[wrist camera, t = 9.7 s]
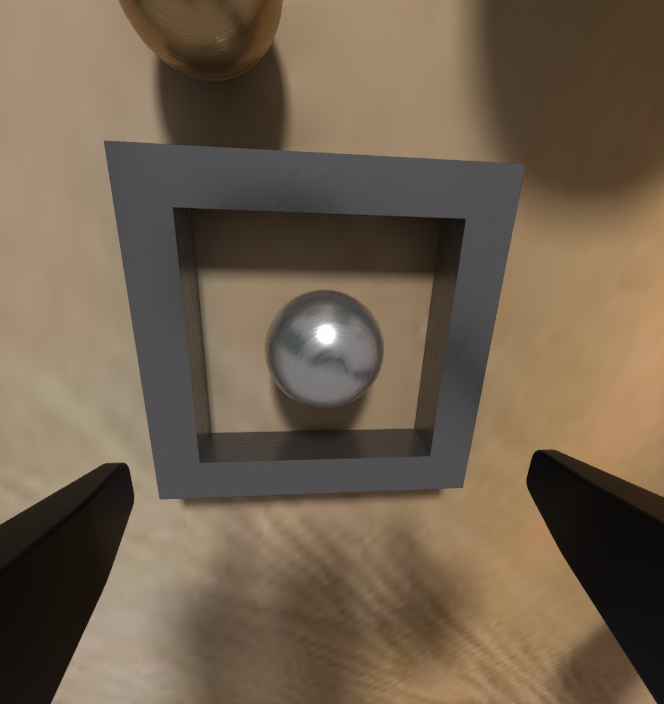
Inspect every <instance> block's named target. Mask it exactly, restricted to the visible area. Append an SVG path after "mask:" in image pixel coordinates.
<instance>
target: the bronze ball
mask: <svg viewBox="0 0 664 704" xmlns="http://www.w3.org/2000/svg"><path fill="white" fill-rule="evenodd" d="M282 2H283V0H119V3H120V5H121V7H122V9H123V11H124V13H125V15H126V17H127V18H128V20H129V21H130V23H131V25H132V26H133V28H134V29H135V31H136V32H137V34H138V35H139V36H140V37H141V39H142V40H143V41H144V42H145V44H146V45H147V46H148V47H149V48H150V49H151V50H152V51H153V52H154V53H155V54H156V55H157V56H158V57H159V58H161V59H162V60H163V61H164V62H166V63H167V64H168V65H170V66H171V67H173V68H175V69H176V70H178V71H180V72H182V73H184V74H186V75H188V76H191V77H194V78H197V79H201V80H207V81H224V80H230V79H233V78H236V77H238V76H240V75H242V74H244V73H246V72H248V71H249V70H250V69H252V68H253V67H254V66H255V65H256V64H257V63H258V62H259V61H260V60H261V59H262V58H263V56H264V55H265V54H266V52H267V51H268V49H269V47H270V45H271V44H272V41H273V39H274V36H275V34H276V31H277V29H278V25H279V21H280V17H281V11H282Z"/></svg>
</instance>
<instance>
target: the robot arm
mask: <svg viewBox="0 0 664 704" xmlns="http://www.w3.org/2000/svg"><path fill="white" fill-rule="evenodd" d="M526 483H527V488H528V490H529V492H530V494H531V496H532V498H533V500H534V502H535V504H536V506H537V508H538V510H539V512H540V514H541V515H542V517H543V519H544V521H545V523H546V525H547V527H548V529H549V531H550V533H551V535H552V537H553V539H554V540H555V542H556V544H557V546H558V548H559V550H560V551H561V553H562V555H563V556H564V558H565V560H566V561H567V563H568V565H569V566H570V568H571V569H572V571H573V572H574V574H575V576H576V577H577V579H578V580H579V582H580V583H581V585H582V587H583V588H584V590H585V591H586V593H587V594H588V596H589V598H590V599H591V601H592V602H593V604H594V605H595V607H596V609H597V610H598V612H599V613H600V615H601V616H602V618H603V619H604V621H605V623H606V624H607V626H608V627H609V629H610V630H611V632H612V634H613V635H614V637H615V638H616V640H617V641H618V643H619V645H620V646H621V648H622V649H623V651H624V652H625V654H626V656H627V657H628V659H629V660H630V662H631V663H632V665H633V667H634V668H635V670H636V671H637V673H638V674H639V676H640V678H641V679H642V681H643V682H644V684H645V685H646V687H647V688H648V690H649V692H650V693H651V695H652V696H653V698H654V699H655V701H656V703H657V704H664V497H662V496H659V495H657V494H655V493H653V492H650V491H648V490H646V489H643V488H641V487H639V486H637V485H634V484H632V483H630V482H627V481H625V480H623V479H621V478H618V477H616V476H614V475H611V474H609V473H607V472H605V471H602V470H600V469H598V468H595V467H593V466H591V465H589V464H586V463H584V462H582V461H579V460H577V459H575V458H573V457H570V456H568V455H566V454H563V453H561V452H559V451H556V450H552V449H551V450H537V451H535V452H534V454H533V456H532V460H531V463H530V467H529V471H528V475H527V479H526ZM133 503H134V491H133V486H132V481H131V475H130V470H129V467H128V465H127V464H125V463H106V464H103V465H101V466H99V467H98V468H96V469H94V470H93V471H91V472H89V473H87V474H86V475H84V476H82V477H81V478H79V479H77V480H76V481H74V482H72V483H70V484H69V485H67V486H65V487H64V488H62V489H60V490H58V491H57V492H55V493H53V494H52V495H50V496H48V497H47V498H45V499H43V500H41V501H40V502H38V503H36V504H35V505H33V506H31V507H30V508H28V509H26V510H24V511H23V512H21V513H19V514H18V515H16V516H14V517H13V518H11V519H9V520H7V521H6V522H4V523H2V524H1V525H0V704H51V702H52V700H53V698H54V696H55V693H56V691H57V689H58V687H59V685H60V683H61V680H62V678H63V676H64V674H65V672H66V669H67V667H68V665H69V663H70V661H71V659H72V656H73V654H74V652H75V650H76V648H77V646H78V643H79V641H80V639H81V637H82V635H83V633H84V630H85V628H86V626H87V624H88V622H89V620H90V617H91V615H92V613H93V611H94V609H95V607H96V604H97V602H98V600H99V598H100V596H101V593H102V591H103V589H104V587H105V584H106V582H107V579H108V577H109V574H110V571H111V569H112V566H113V563H114V560H115V557H116V554H117V551H118V548H119V545H120V542H121V540H122V537H123V534H124V531H125V528H126V525H127V522H128V519H129V516H130V513H131V510H132V507H133Z"/></svg>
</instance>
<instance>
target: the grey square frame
mask: <svg viewBox="0 0 664 704" xmlns="http://www.w3.org/2000/svg"><path fill="white" fill-rule="evenodd" d="M104 145H105V151H106V158H107V164H108V171H109V177H110V183H111V190H112V196H113V203H114V209H115V215H116V222H117V228H118V235H119V241H120V248H121V254H122V260H123V267H124V273H125V280H126V286H127V292H128V299H129V305H130V312H131V318H132V325H133V331H134V337H135V344H136V350H137V357H138V363H139V369H140V376H141V382H142V389H143V395H144V402H145V408H146V414H147V421H148V427H149V434H150V440H151V446H152V453H153V459H154V466H155V472H156V479H157V485H158V491H159V498H160V499H184V498H210V497H236V496H262V495H288V494H315V493H341V492H367V491H393V490H419V489H445V488H463V484H464V479H465V473H466V468H467V463H468V458H469V453H470V448H471V443H472V437H473V432H474V427H475V422H476V417H477V412H478V406H479V401H480V396H481V391H482V386H483V381H484V376H485V370H486V365H487V360H488V355H489V350H490V345H491V339H492V334H493V329H494V324H495V319H496V314H497V309H498V303H499V298H500V293H501V288H502V283H503V278H504V272H505V267H506V262H507V257H508V252H509V247H510V242H511V236H512V231H513V226H514V221H515V216H516V211H517V205H518V200H519V195H520V190H521V185H522V180H523V175H524V169H525V164H514V163H496V162H478V161H460V160H442V159H424V158H406V157H388V156H370V155H352V154H334V153H316V152H298V151H280V150H262V149H244V148H227V147H209V146H191V145H173V144H155V143H137V142H119V141H104ZM191 208H192V209H217V210H243V211H269V212H295V213H320V214H346V215H372V216H397V217H423V218H442V223H441V230H440V238H439V246H438V253H437V261H436V269H435V276H434V284H433V292H432V299H431V307H430V315H429V322H428V330H427V338H426V346H425V353H424V361H423V369H422V376H421V384H420V392H419V399H418V407H417V415H416V422H415V429H384V430H337V431H289V432H242V433H211V428H210V417H209V406H208V394H207V383H206V372H205V361H204V350H203V338H202V327H201V316H200V305H199V294H198V282H197V271H196V260H195V249H194V238H193V226H192V215H191Z"/></svg>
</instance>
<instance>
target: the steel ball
mask: <svg viewBox="0 0 664 704" xmlns="http://www.w3.org/2000/svg"><path fill="white" fill-rule="evenodd" d="M265 356H266V362H267V366H268V369H269V372H270V374H271V376H272V378H273V380H274V381H275V383H276V384H277V386H278V387H279V388H280V389H281V390H282V391H283V392H284V393H285V394H286V395H287V396H288V397H290V398H291V399H293V400H294V401H296V402H298V403H300V404H303V405H305V406H309V407H313V408H319V409H330V408H336V407H341V406H344V405H347V404H349V403H351V402H353V401H355V400H356V399H358V398H359V397H361V396H362V395H363V394H364V393H365V392H366V391H367V390H368V389H369V388H370V387H371V385H372V384H373V383H374V381H375V380H376V378H377V376H378V374H379V372H380V369H381V366H382V362H383V356H384V343H383V337H382V333H381V329H380V327H379V325H378V322H377V321H376V319H375V317H374V316H373V314H372V313H371V312H370V311H369V309H368V308H367V307H366V306H365V305H364V304H362V303H361V302H360V301H358V300H357V299H355V298H354V297H352V296H350V295H348V294H345V293H342V292H338V291H333V290H316V291H311V292H307V293H304V294H302V295H299V296H297V297H295V298H294V299H292V300H291V301H289V302H288V303H287V304H286V305H284V306H283V307H282V308H281V309H280V310H279V312H278V313H277V314H276V316H275V317H274V319H273V320H272V322H271V324H270V327H269V330H268V333H267V336H266V341H265Z"/></svg>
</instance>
